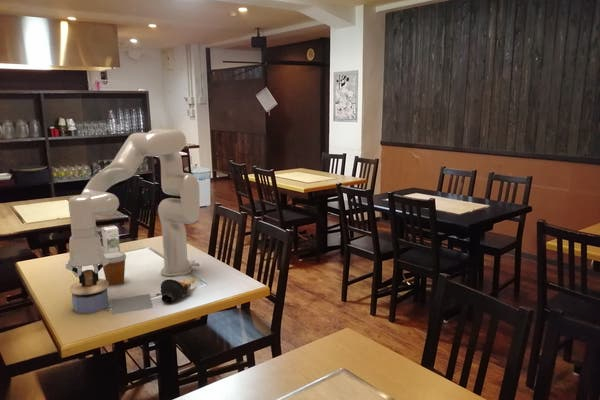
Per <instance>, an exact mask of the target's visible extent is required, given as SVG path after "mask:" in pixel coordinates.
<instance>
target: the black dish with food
mask: <svg viewBox="0 0 600 400" xmlns="http://www.w3.org/2000/svg"><path fill="white" fill-rule="evenodd" d="M196 281H197V278H196V277H193V278H192V279H190V280H189V281H187V282H186V281H185V280H183V281H178V280H176V279H165V280H163V281H162V282H161V284H160V294H161V301H162V302H163V303H164V304H172V303H174V302H177V301H178V300H180V299H183V298H184V297H185V296H187V295H189V294H190V293H189V291H190V290H191V286H192V284H194V283H195V282H196ZM169 298H171V300H172V301H171V302H169V301H167V300H168V299H169Z"/></svg>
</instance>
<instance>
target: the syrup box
mask: <svg viewBox="0 0 600 400" xmlns="http://www.w3.org/2000/svg"><path fill="white" fill-rule="evenodd" d="M100 228H101V238H102V239H101V243H102V249H103V254H104V253H107V252H113V251H120V250H121V248H120V235H119V227H117V226H116V225H108V226H102V227H100Z"/></svg>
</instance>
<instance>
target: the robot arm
mask: <svg viewBox="0 0 600 400" xmlns="http://www.w3.org/2000/svg"><path fill="white" fill-rule="evenodd" d="M186 144H187V138H186V136H185V134H184V132H183V131H181V130H178V129H165V128H164V129H161V128H156V129H154V128H153V129H151V130H149V131H148V132H134V133H131V134H130V135H129V136H128V137H127V139H126V140H125V141H124V143H123V145H122V146H121V148H120V149H119V151H118V152H117V154H116V155H115V157H114V159H113V160H112V162H111V163H110V164H108V165H107V166H106V167H104V168H103V169H101V170H100V171H99V172H97V173H96V174H95V175H94V176H93V177H92V178H90V180H89V181H88V182H87V184H86V186H85V187H84V188H83V190H82V191H81V193H80V195H75V196H71V197H69V198H68V210H69V212H68V213H69V221H70V230H71V235H70V237H69V242H68V243H69V244H68V247H69V259H68V262H67V263H66V265H65V269H66V270H68V271H72V272H74V273H75V274H76V275H77V276H78V282H79V283H80V284H81V283H82V287H83V286H84V276H83V271H84V270H83V267H88V266H92V267H93V277H94V284H95V285H97V281H99V279H100V278H99V272H100V271H101V270H102V269H103V267H104V266H105V265H107V264H108V263H109V261H108V260H107V259H106V257H105V256H104V255H103V242H102V239H101V235H100V234H99V232H102V230H101V228H102V227H98V226H97V224H96V216H101V215H102V216H103V215H104V216H105V215H110V214H113V213H115V212H116V211H117V210H118V208H119V206H120V201H119V198H118V197H117V195H115V194H114V193H110V192H107V191H108V190H109V189H110V188H111V187H112V186H114V185H116V184H118V183H119V182H123V181H125V180H128V179H129V178H132V177H133V176H134V175H135V174H136V171H137V170H138V169H139V166H140V165H141V163H142V162H143V160H144V159H145V157H158V158H159V162H160V180H161V181H160V183H161V190H162V192H163V193H164V194H165V195H169V196H174V197H168V198H164V199H162V200H161V201H160V203H159V205H158V208H157V212H158V217H159V221H160V224H161V225H160V226H161V235H162V246H163V247H162V248H163V249H162V251H163V263H164V264H163V265H164V267H162V268H161V270H160V274H161V275H162V276H164V277H169V278H171V277H172V278H173V277H175V278H176V277H182V276H183V277H184V276H186V275H189V274H190V273H191V272H192V270H193V269H192V268H193V267H198V266H200V262H199V261H198V260H197V261H196V260H189V259H188V248H187V247H188V245H187V244H188V243H187V229H186V226H185V224H186V225H187V224H188V225H191V224H194V223H196V221H197V220H198V219H199V216H200V207H201V206H200V203H201V202H200V197H201V196H200V183H199V181H198V178H197V176H196V175H195V174H192V173H190V172H189V173H188V172H184V171H183V170H184V169H183V167H184V166H183V158H182V156H181V153H180V152H181V151H182V150H183V149H185V147H186ZM175 196H176V197H180V198H175Z"/></svg>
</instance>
